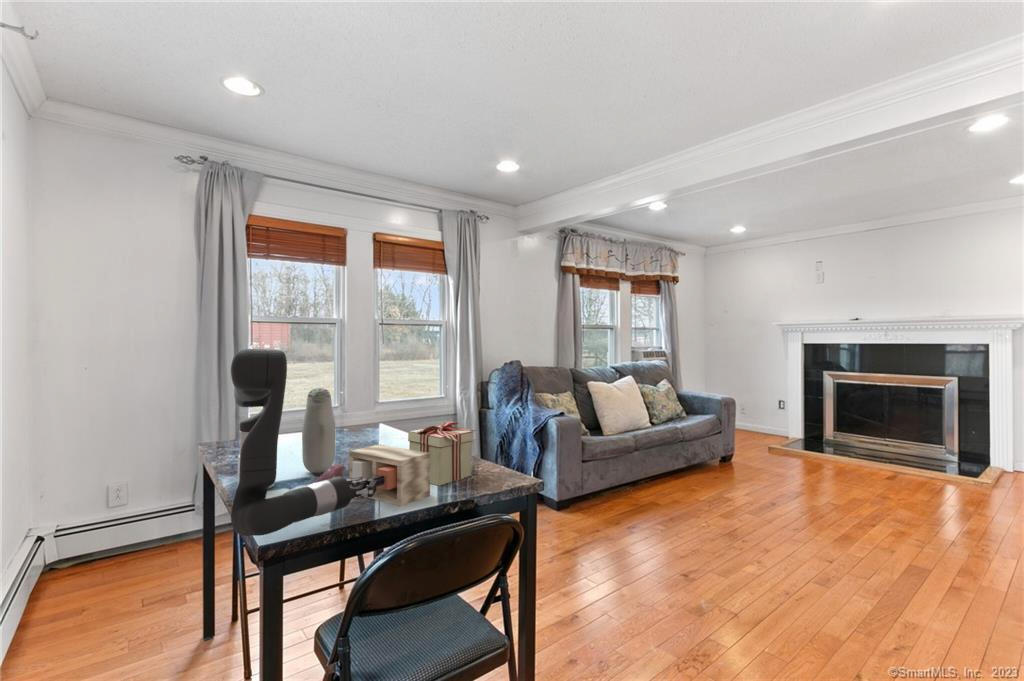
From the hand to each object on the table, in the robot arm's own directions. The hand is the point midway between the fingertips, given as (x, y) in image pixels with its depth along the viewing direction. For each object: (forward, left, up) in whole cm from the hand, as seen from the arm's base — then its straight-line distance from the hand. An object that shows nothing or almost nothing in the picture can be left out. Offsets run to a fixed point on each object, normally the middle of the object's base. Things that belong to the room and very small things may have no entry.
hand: (382, 479), depth 129 cm
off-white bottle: (0, +45, -7) cm, 45 cm away
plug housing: (+6, +8, -7) cm, 12 cm away
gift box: (+28, +12, -7) cm, 31 cm away
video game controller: (-2, +29, -7) cm, 30 cm away
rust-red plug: (+4, +1, -2) cm, 5 cm away
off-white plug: (+2, +13, -2) cm, 13 cm away
